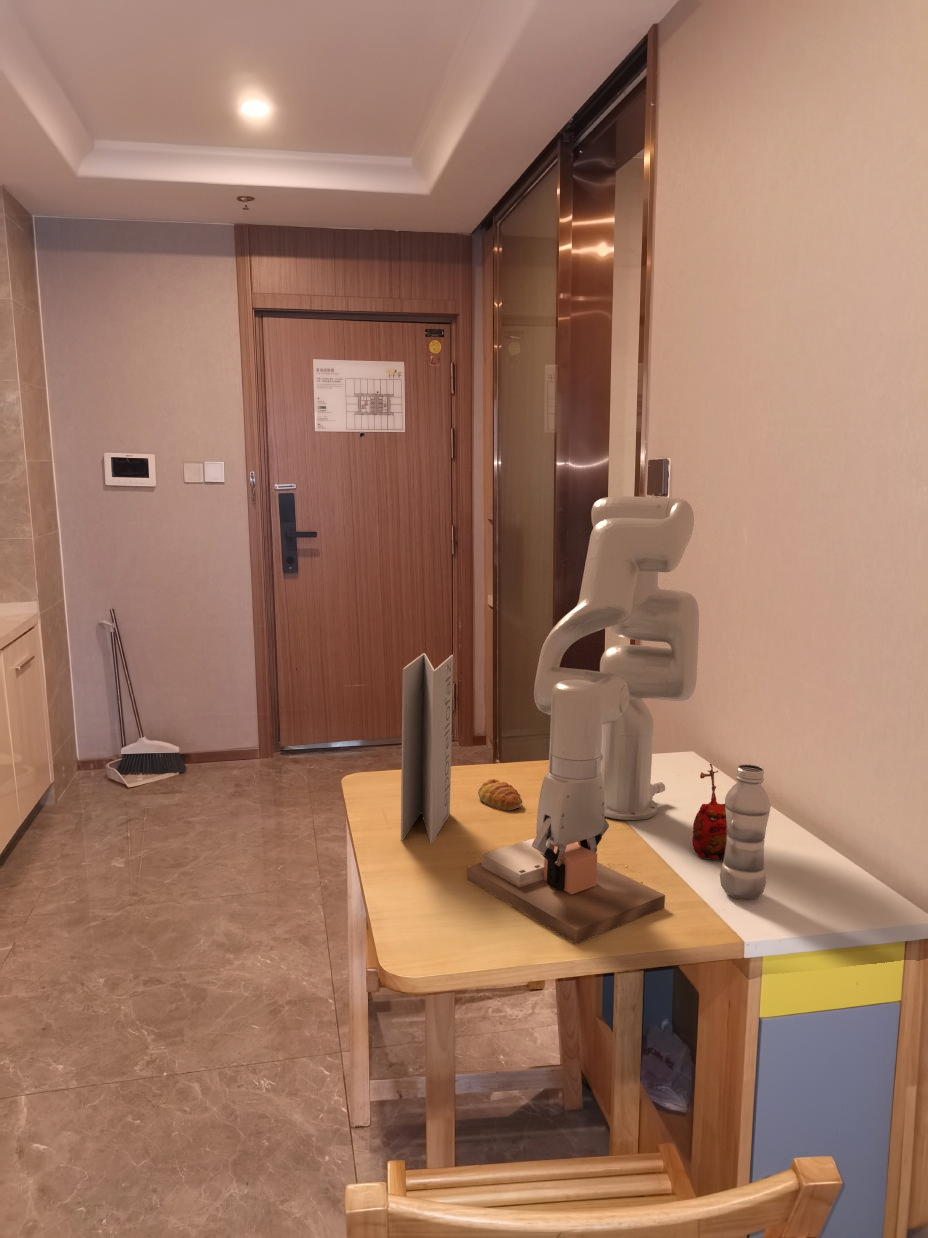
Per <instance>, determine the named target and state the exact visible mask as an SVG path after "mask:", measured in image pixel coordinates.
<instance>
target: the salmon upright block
mask: <svg viewBox="0 0 928 1238" xmlns="http://www.w3.org/2000/svg"><path fill="white" fill-rule="evenodd" d="M557 849H558V847H557V846H555V848H554V852H555V853H557ZM597 862H598V853H597V852H596V853H595V852H593V851H591V850H588V849H586V848H584V847H582V846H580V845H578V843H577V842H575V843H572V844H569V845H567V846H566V850H565V854H564V858H563V862H562V864H564V865H565V886H564V891H566V892H568V893H570V894H574V893H577V892H580V891H583V890H585V889H588V888H591V887H594V886H596V873H597ZM547 864H548V861H547V860H545V859H544V880H546V881H547Z"/></svg>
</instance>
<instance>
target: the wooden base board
mask: <svg viewBox="0 0 928 1238" xmlns="http://www.w3.org/2000/svg"><path fill="white" fill-rule="evenodd" d="M535 838H536V837H534V838H530V839H528V840H524V841H520V842H517V843H514V844H510V845H506V846H502V847H501V848H497V849H494V850H490V851H487V852H484V853H481V862H480V863H476V864H473V865H470V866H467V871H466V872H467V875H466V879H467V880H468V881H469V882H472V883H473V884H474V885H476V886H478V887H480V888H481V889H483V890H485V891H486V892H488V893H489V894H492V895H493V896H495V897H496V898H498V899H499V900H501V901H503V902H505V903H506V904H508V905H510V906H512V908H513V907H514V908H515V909H517V910H518V911H520V912H521V913H524V914H525V915H526V916H528V917H530V918H531V919H534V921H536V922H538V923H541V925H543V926H546V927H547V928H548V927H549V929H550V930H552V931H554V932H555V933H557V934H558V935H560V936H562V937H564V938H565V939H567V940H568V941H571V942H572V943H574V944H575V945H576V944H580V943H582V942H584V941H587V940H590V939H592V938H594V937H597V936H598V935H601V934H604V933H607V932H608V931H611V930H614V929H616V928H618V927H621V926H624V925H625V924H629V923H631V922H632V921H636V920H638V919H639V918H640V919H641V918H643V917H645V916H647V915H650V914H653V913H655V912H657V911H660V910H663V909H664V908H665V906H666V905H665V904H666V894H664V893H661V892H660V891H658V890H656V889H654V888H651V887H649V886H648V885H645V884H643V883H641V882H639V881H637V880H635V879H633V878H631V877H629V876H627V875H625V874H623V873H620V872H618V871H616V870H614V869H612V868H610V867H608V866H606V865H603V864H602V863H600V862H598V861H597V873H596V886H594V887H591V888H588V889H585V890H583V891H580V892H577V893H574V894H570V893H568V892H566V891H564V890H562V891H559V890H557V889H555V888H554V887H552V886H550V885H548V884H547V881H546V880H544V857H543V855H542V854H541V853H540V852H538V851H537V850H536V849H534V848H533V847H532V843H533V841H534V840H535ZM547 842H548V841H547ZM546 846H547V843H546Z"/></svg>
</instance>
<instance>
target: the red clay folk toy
mask: <svg viewBox="0 0 928 1238" xmlns="http://www.w3.org/2000/svg"><path fill="white" fill-rule="evenodd" d="M709 765H710V770H707V772H708V773H704V772H700V777H699V778H700V779H704V778H706V777H710V780H711V791H712V793H711V797H710V802H709V803H702V804H701V806H700V808H699V810H698V811H697V813H696V815H695V817H694V820H693V824H692V838H691V839H692V840H691V843H692V844H691V845H692V849H693V850H694V852H695V854H696V855H697V857H698V858H701V859H707V860H714V861H715V860H722V861H724V855H725V848H726V842H727V821H726V810H725V803H718V801H717V796H716V793H715V791H716V788H717V786H716V785H715V774H717V773H719V770H716V771H714V769H713V768H714V767H713V764H712V763H709Z"/></svg>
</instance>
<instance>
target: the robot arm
mask: <svg viewBox="0 0 928 1238" xmlns="http://www.w3.org/2000/svg"><path fill="white" fill-rule="evenodd" d="M591 507H592V508H591V512H590V513H591V515H590V516H591V524H592V527H593V528H592V530H591V533H590V537H589V541H588V542H589V543H588V549H587V554H586V559H585V563H584V564H585V565H584V571H583V576H582V581H581V587H580V592H579V598H578V602H577V604H576V606H575V607H574V608H573V609H571V610H570V611H569V612H568V613H567V614H565V615H564V616H563V617H562V618H561V619H560V620H559V621H558V622H557V623H556V625H554V626H553V628H552V629H551V630H550V631H549V634H548V635H547V636H546V639H545V640H544V642H543V644H542V647H541V649H540V653H539V658H538V664H537V670H536V675H535V680H534V689H533V697H534V702H535V705H536V708H537V709H538V710H539V711H540V712H541V713H543V714H545V715H549V716H550V729H549V731H550V732H549V753H548V756H549V757H548V773H546V774H545V775H544V777H543V778H542V779H543V780H542V784H541V787H540V792H539V798H538V807H537V817H536V831H535V832H536V837H534V838H535V840H534V841H533V843H532V847H533V848H534V849H536V850H537V851H538V852H540V853H541V854H542V855H543V857H544V859H545V860H547V861H548V864H547V884H548V885H550V886H552V887H554V888H555V889H557V890H559V891H562V890H564V886H565V865H564V864H562V862H563V858H564V854H565V850H566V846H567V845H569V844H572V843H577V844H578V845H580V846H582V847H584V848H586V849H588V850H591V851H593V852H595V853H597V852H598V845H599V844H600V842H601V840H602V838H603V836H604V835H605V833H606V832H607V830H608V829H609V827H610V825H609V822H608V821H607V819H606V818H610V819H614V820H620V821H640V820H641V821H642V820H646V819H650V818H652V817H654V816H655V815H657V814H658V804H657V802H656V801H655V800H654V799H653V797H655V795H656V794H661V793H664V792H665V791H666V786H665V784H664V783H663V782H662V781H661V782H660V781H659V782H655V783H651V779H652V766H653V765H652V763H653V762H652V761H653V749H654V748H653V747H654V746H653V744H654V728H655V725H654V724H655V723H654V718H653V714H652V712H651V710H650V708H649V707H648V705H647V704H646V702H644V700H643V699H649V700H650V699H651V700H660V701H667V702H668V701H670V702H685V701H688V700H689V699H690V698H692V697H693V695H694V693H695V690H696V686H697V676H698V656H699V655H698V654H699V637H700V635H699V633H700V632H699V631H700V612H699V611H700V610H699V605H698V601H697V599H696V598H695V596H694V595H693V594H692V593H690V592H687V591H683V590H676V589H675V590H672V589H662V588H660V587H659V573H671V572H672V571H674V570H676V568H677V567H678V566H679V564H680V563H681V560H682V559H683V556H684V554H685V551H686V549H687V547H688V545H689V543H690V540H691V538H692V535H693V531H694V526H695V525H694V524H695V515H694V511H693V508H692V506H691V504H690V503H689V501H687V500H685V499H683V498H678V497H677V498H676V497H675V498H673V497H649V496H647V497H646V496H632V495H630V496H629V495H626V496H625V495H617V496H608V497H602V498H600V499H598V500H596V501H595V502H594V503H593V505H592V506H591ZM607 628H610V629H611V631H612V633H613V634H614V635H615V636H616V637H619V638H622V639H627V640H628V639H629V640H633V641H634V640H635V641H645V642H657V643H666V644H668V645H669V646H670V648H667V647H656V646H651V645H650V646H649V645H638V644H637V645H636V644H616V645H612V646H610V647H608V648H607V649H605V651H604V652H603V653H602V655H601V657H600V662H599V671H597V670H589V669H581V668H579V669H578V668H568V667H560V666H561V663H562V658H563V656H564V654H565V652H567V650H568V649H569V648H570V646H572V644H574V643H575V642H577V641H579V640H580V639H581V638H583V637H587V636H588V635H590V634H593V633H596V632H598V631H601V630H604V629H607ZM547 841H548V842H547ZM546 843H547V846H546ZM555 846H557V847H558V849H557V853H555V852H554V848H555Z"/></svg>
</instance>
